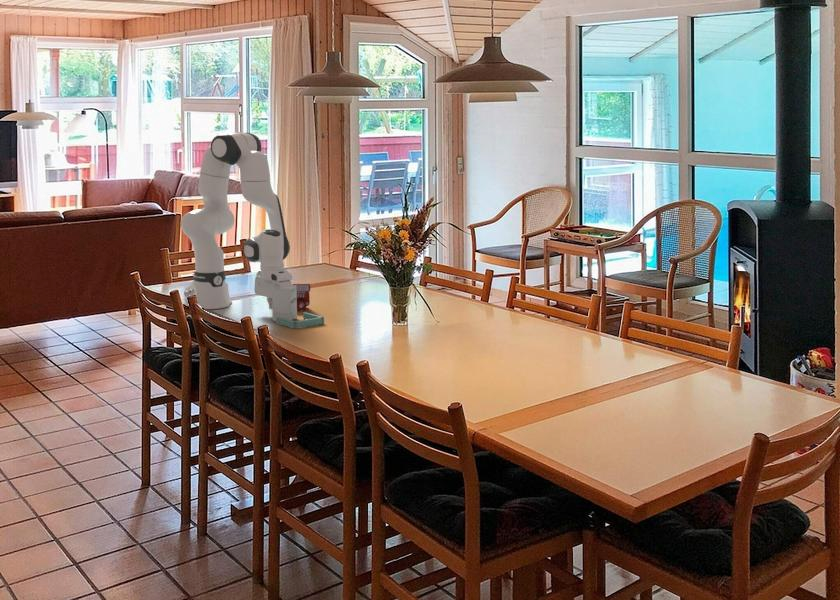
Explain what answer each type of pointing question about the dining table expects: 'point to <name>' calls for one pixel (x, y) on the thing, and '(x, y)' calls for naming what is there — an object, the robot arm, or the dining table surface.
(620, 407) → the dining table surface
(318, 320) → the tray
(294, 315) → the supplement box
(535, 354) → the dining table surface
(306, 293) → the toy fire truck
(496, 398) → the dining table surface
